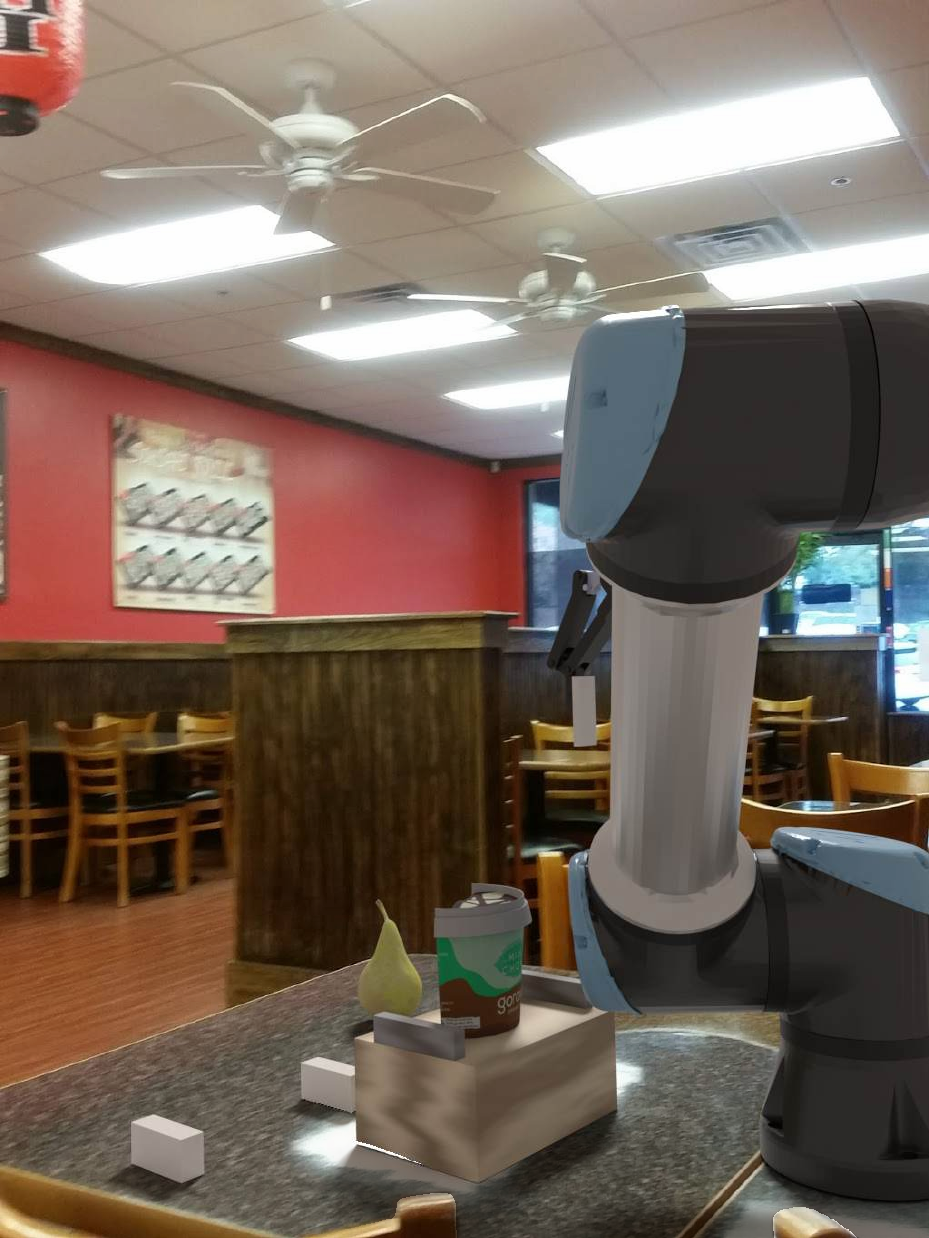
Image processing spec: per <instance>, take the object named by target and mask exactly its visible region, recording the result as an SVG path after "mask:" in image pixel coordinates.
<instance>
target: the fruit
mask: <svg viewBox="0 0 929 1238" xmlns="http://www.w3.org/2000/svg"><path fill="white" fill-rule="evenodd" d="M375 905H377V907H378V908H379V910H380V912H381V913H382V915H383V919H384V922H383V925H382V927H381V932H380V934H379V938H378V941H377V945H376V948H375V950H374V953H373V955H372V956H371V958H370V960H369V962H368V963H367V964H366V965H365V967H364V968H363V970H362V971H361V973H360V975H359V980H358V984H357V985H358V987H357V988H358V989H357V992H358V993H357V994H358V995H357V997H358V1000H359V1003H360V1005H361V1007H362V1009H363V1010H364V1011H365V1012H366V1013H367V1014H368V1015H370V1016H371V1017H373V1015H376V1014H379V1013H382V1012H388V1013H392V1014H397V1015H402V1016H406V1017H411V1018H412V1016H413V1015H414V1013H415V1012H416V1010H417V1009H418V1008H419V1005H420V1003H421V1000H422V999H421V998H422V994H423V986H422V985H423V984H422V980H421V977H420V974H419V972H418V971H417V970H416V968H415V966H414V964H413V963H412V961H411V960H410V959H409V957H408V955H407V953H406V950H405V946H404V943H403V940H402V937H401V933H400V932H399V929H398V927H397V924H396V923H395V921H393V920H391V919H389V916H388V914H387V912H386V909H385V907H384V904H383V903H382V901H381V900H380V899H377V900H376V901H375Z"/></svg>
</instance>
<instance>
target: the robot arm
mask: <svg viewBox="0 0 929 1238" xmlns="http://www.w3.org/2000/svg"><path fill="white" fill-rule="evenodd" d="M573 355H574V356H573V359H572V364H571V370H570V375H569V382H568V389H567V396H566V403H565V404H566V405H565V413H564V423H563V432H562V434H563V435H562V437H563V439H562V441H563V442H562V443H563V450H562V454H561V464H560V465H561V466H560V475H559V523H560V529H561V530H562V533H563V534H564V535H565V537H567V538H569V539H571V540H577V541H578V542H579V543H581V544H583V543H585V550H586V554H587V559H588V560H589V562H590V564H591V566H592V568H593V570H584V569H577V570H574V573H573V574H572V583H571V594H570V597H569V601H568V603H567V606H566V608H565V611H564V614H563V616H562V619H561V622H560V625H559V627H558V629H557V633H556V636H555V638H554V640H553V643H552V646H551V649H550V651H549V655H548V657H547V659H546V666H547V668H548V669H550V670H555V671H557V672H559V673H562V674H563V676H564V677H565V699H566V700H565V702H566V703H565V704H566V708H567V710H568V711H572V725H573V726H572V727H573V729H572V730H573V732H572V733H573V747H574V748H575V747H578V748H579V747H580V748H581V747H590V746H597V745H598V744H597V743H598V741H597V737H598V736H597V711H596V709H597V707H596V706H597V705H596V679H595V678H596V677H595V675H590V674H591V672H589V671H590V668H591V667H592V665H593V664H594V662H596V659H597V657H598V656H599V655H600V653H601V652H602V650H603V649H604V647H605V646H606V645H607V643H608V641H609V640H610V638H611V669H610V670H611V674H610V675H611V678H610V679H611V681H610V682H611V683H610V684H611V688H610V689H611V691H610V693H611V695H610V702H611V703H610V715H611V716H610V783H609V785H610V789H609V791H610V792H609V793H610V795H609V798H610V799H609V801H610V802H609V803H610V805H609V808H610V809H609V819H608V820H607V821H605V822H604V823H603V824H602V825H601V827H600V828H599V829H598V830H597V832H596V834H595V835H594V837H593V840H592V843H591V844H590V848H588V849H585V850H584V851H579V852H576V853H574V855H572V856H571V858H570V859H569V862H568V874H567V875H568V876H567V877H568V878H567V881H568V882H567V884H568V903H569V915H570V923H571V929H572V935H573V936H572V937H573V941H574V942H573V945H574V954H575V955H574V956H575V962H576V967H577V973H578V979H580V982H581V986H582V989H583V992H584V994H585V997H586V998H587V1000H588V1001H589V1003H590V1004H591V1005H592V1006H594V1007H595V1008H597V1009H599V1010H601V1011H607V1012H614V1013H629V1014H632V1015H635V1016H639V1017H641V1016H646V1015H650V1014H651V1015H658V1014H662V1015H663V1014H664V1015H665V1014H668V1015H669V1014H714V1013H715V1014H728V1013H729V1014H730V1013H733V1014H735V1013H761V1014H762V1013H779V1030H780V1031H779V1033H780V1036H779V1037H780V1039H779V1040H780V1041H779V1043H780V1044H779V1049H778V1052H777V1056H776V1060H775V1063H774V1066H773V1070H772V1074H771V1077H770V1081H769V1084H768V1087H767V1090H766V1094H765V1097H764V1099H763V1100H764V1101H763V1104H762V1108H761V1110H760V1115H759V1122H758V1126H759V1127H758V1129H759V1150H760V1155H761V1157H762V1158H763V1160H764V1161H765V1162H766V1164H767V1163H768V1164H767V1165H769V1166H770V1168H772V1169H773V1170H774V1171H776V1172H777V1171H778V1173H779V1174H781V1173H782V1174H783V1175H782V1174H781V1175H782V1176H784V1177H786V1176H787V1179H790V1180H792V1181H794V1182H797V1183H799V1184H802V1185H804V1186H806V1187H811V1188H814V1189H816V1190H821V1191H823V1192H827V1193H831V1194H836V1195H841V1196H846V1197H852V1198H860V1199H867V1198H868V1199H867V1200H879V1201H880V1200H881V1201H918V1200H920V1201H921V1200H929V852H928V851H926V850H925V849H922V848H921V847H919V846H917V845H915V844H912V843H908V842H905V841H902V840H901V841H900V840H897V839H892V838H888V837H883V836H878V835H872V834H866V833H860V832H854V831H846V830H838V829H828V828H819V827H808V826H807V827H805V826H804V827H803V826H800V827H799V826H798V827H793V826H784V827H778V828H777V829H775V830H774V832H773V835H772V837H771V839H770V840H769V841H770V846H771V848H751V846H750V844H749V841H748V840H747V839H746V837H745V835H744V834H743V833H742V832H741V831H740V829H739V827H740V826H739V825H740V816H741V808H742V800H743V799H742V798H743V790H744V789H743V788H744V783H745V782H744V780H745V772H746V771H745V770H746V762H747V761H746V760H747V750H748V744H749V743H748V742H749V733H750V727H751V726H750V724H751V715H752V708H753V707H752V706H753V696H754V687H755V679H756V668H757V661H758V660H757V659H758V651H759V650H758V649H759V643H760V641H759V640H760V631H761V621H762V613H763V604H764V594H767V593H769V592H771V591H772V590H773V589H774V588H776V587H777V586H779V585H780V584H781V583H782V582H783V581H784V580H785V579H786V578H787V577H788V575H789V574H790V573H791V571H792V570H793V567H794V566H795V564H796V560H797V554H798V549H799V548H798V547H799V541H800V533H814V532H815V533H816V532H819V533H820V532H839V531H840V532H844V531H856V530H857V531H859V530H879V529H883V528H889V527H895V526H901V525H904V524H907V523H911V522H914V521H918V520H920V519H924V518H927V517H929V304H928V303H927V304H926V303H922V302H918V301H917V302H916V301H908V300H907V301H906V300H898V299H889V298H886V299H884V298H882V299H880V298H879V299H854V300H853V299H852V300H851V301H849V300H848V301H833V302H832V301H831V302H830V301H829V302H828V301H827V302H826V301H825V302H809V303H808V302H807V303H806V302H805V303H788V304H787V303H782V304H759V305H739V306H738V305H737V306H736V305H735V306H716V307H715V306H714V307H713V306H712V307H693V308H690V307H689V308H680V306H678V305H665V306H661V307H659V308H657V309H655V310H649V311H646V310H645V311H637V312H627V313H616V314H608V315H605V316H603V317H600V318H598V319H596V320H594V321H593V322H591V324H589V325H588V326H587V327H586V329H585V330H584V331H583V333H582V334H581V336H580V338H579V339H578V341H577V344H576V348H575V351H574V354H573ZM594 570H595V571H594ZM602 589H603V590H604V591H605V593H606V595H605V596H604V598H603V599H602V601H601V603H600V604H599V605H598V607H597V608H596V612H597V613H596V615H595V616H594V618H593V620H592V621H591V622H590V624H589V626H588V627H587V624H588V621H589V619H590V616H591V614H592V610H593V608H594V606H595V603H596V599H597V594H598V593H599V592H600V591H602ZM586 627H587V629H586ZM585 629H586V630H585Z"/></svg>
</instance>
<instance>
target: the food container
mask: <svg viewBox="0 0 929 1238" xmlns="http://www.w3.org/2000/svg"><path fill="white" fill-rule="evenodd" d="M434 916H435V917H434V919H433V920H434V921H433V922H434V923H433V926H434V927H433V938H436V954H437V956H436V957H437V971H438V972H437V974H438V975H437V976H438V993H439V995H438V997H439V1009H440V1015H441V1024H444V1025H448V1026H453V1027H458V1028H462V1029H465V1039H475V1038H482V1037H489V1036H495V1035H498V1034H502V1033H505V1032H508V1031H510V1030H512V1029H514V1028H516V1027H517V1026H518V1025H519V1023H520V1003H521V979H522V970H523V954H524V953H523V951H524V930H525V929H524V928H525V927H527V926H528V925H529V924H531V923H532V921H533V919H532V915H531V911H530V906H529V901H528V900H527V899H526V898H525V894H524V892H523V890H521V889H519V888H516V887H512V886H507V885H501V884H494V883H493V884H492V883H491V884H490V883H473V882H471V895H470V896H469V897H468V898H466V899H463V900H461V899H460V900H457V901H456V902H455V903H454V904H453V905H452V907H451V908H449V907H448V908H440V907H439V908H437V907H436V908H434Z"/></svg>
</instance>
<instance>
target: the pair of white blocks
mask: <svg viewBox="0 0 929 1238" xmlns="http://www.w3.org/2000/svg"><path fill="white" fill-rule="evenodd" d="M300 1078H301V1080H300V1081H301V1082H300V1084H301V1086H300V1087H301V1089H300V1090H301V1092H300V1093H301V1099H302V1100H304V1099H305V1101H308V1102H312V1103H315V1102H316V1103H315V1104H318V1103H321V1104H324V1105H323V1106H325V1105H327V1106H326V1107H328V1106H331V1107H334V1108H333V1109H335V1108H337V1109H336V1110H338V1109H341V1110H340V1111H342V1110H344V1111H343V1112H345V1111H348V1112H353V1111H355V1110H356V1108H355V1065H351V1064H347V1063H343V1062H340V1061H335V1060H333V1059H328V1058H324V1057H320V1056H317V1057H314V1058H311V1059H308V1060H304V1061H303V1062H300ZM321 1104H320V1105H321ZM331 1107H330V1108H331ZM348 1112H347V1113H348ZM130 1133H131V1134H130V1138H131V1139H130V1140H131V1142H130V1146H131V1147H130V1148H131V1149H130V1151H131V1157H130V1158H131V1160H130V1161H131V1162H130V1163H131V1164H132V1165H134V1166H137V1167H140V1168H142V1169H144V1170H147V1171H150V1172H153V1173H154V1174H157V1175H160V1176H162V1177H164V1178H166V1179H170V1180H172V1181H175V1182H176V1183H180V1184H183V1183H186V1182H188V1181H191V1180H193V1179H195V1178H198V1177H200V1176H203V1175H205V1138H204V1137H205V1134H204V1131H203V1130H200V1129H196V1128H193V1127H191V1126H188V1125H185V1124H182V1123H180V1122H178V1121H174V1120H171V1119H168V1118H165V1117H162V1116H159V1115H156V1114H153V1113H152V1114H151V1115H148V1116H144V1117H142V1118H139V1119H137V1120H133V1121H131V1122H130Z"/></svg>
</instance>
